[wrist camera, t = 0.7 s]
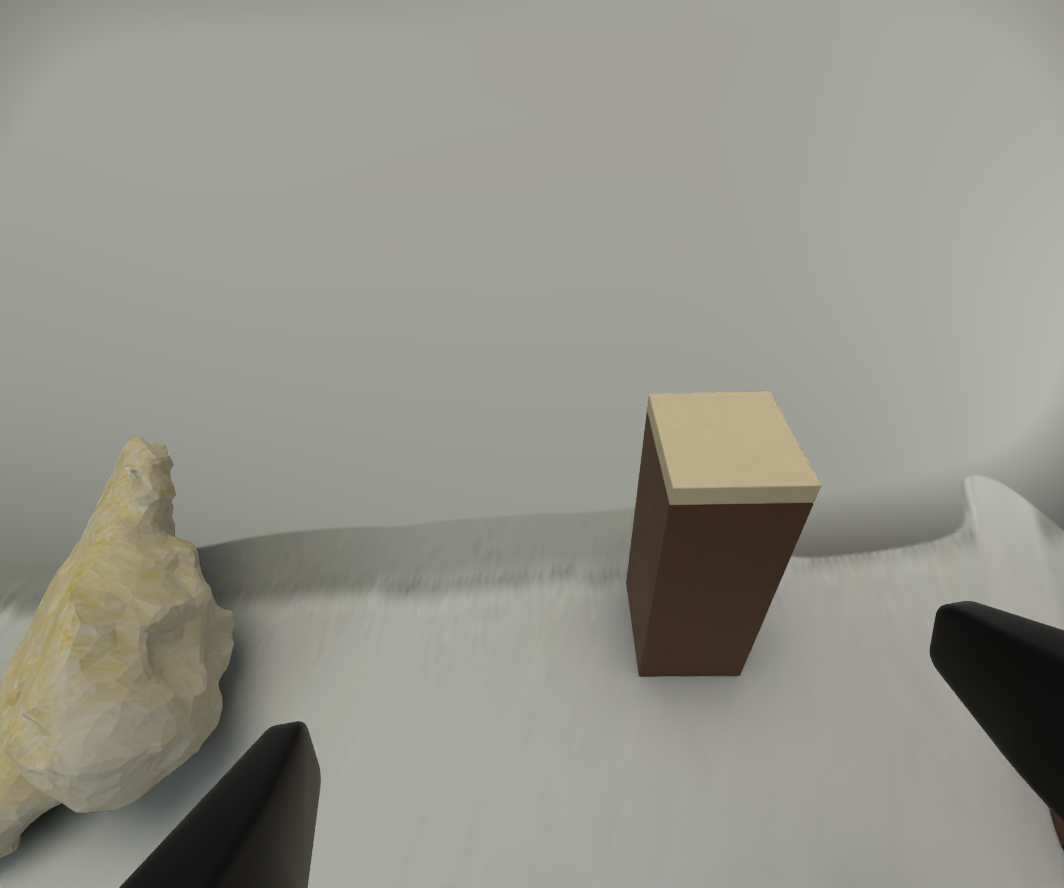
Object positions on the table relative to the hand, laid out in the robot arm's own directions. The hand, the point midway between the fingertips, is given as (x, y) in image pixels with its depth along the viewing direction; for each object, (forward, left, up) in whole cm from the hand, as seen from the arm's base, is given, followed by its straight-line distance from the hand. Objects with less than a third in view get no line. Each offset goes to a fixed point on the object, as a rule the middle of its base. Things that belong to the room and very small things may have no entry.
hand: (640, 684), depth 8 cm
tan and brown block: (+8, -8, -17) cm, 20 cm away
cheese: (+16, +17, -17) cm, 28 cm away
